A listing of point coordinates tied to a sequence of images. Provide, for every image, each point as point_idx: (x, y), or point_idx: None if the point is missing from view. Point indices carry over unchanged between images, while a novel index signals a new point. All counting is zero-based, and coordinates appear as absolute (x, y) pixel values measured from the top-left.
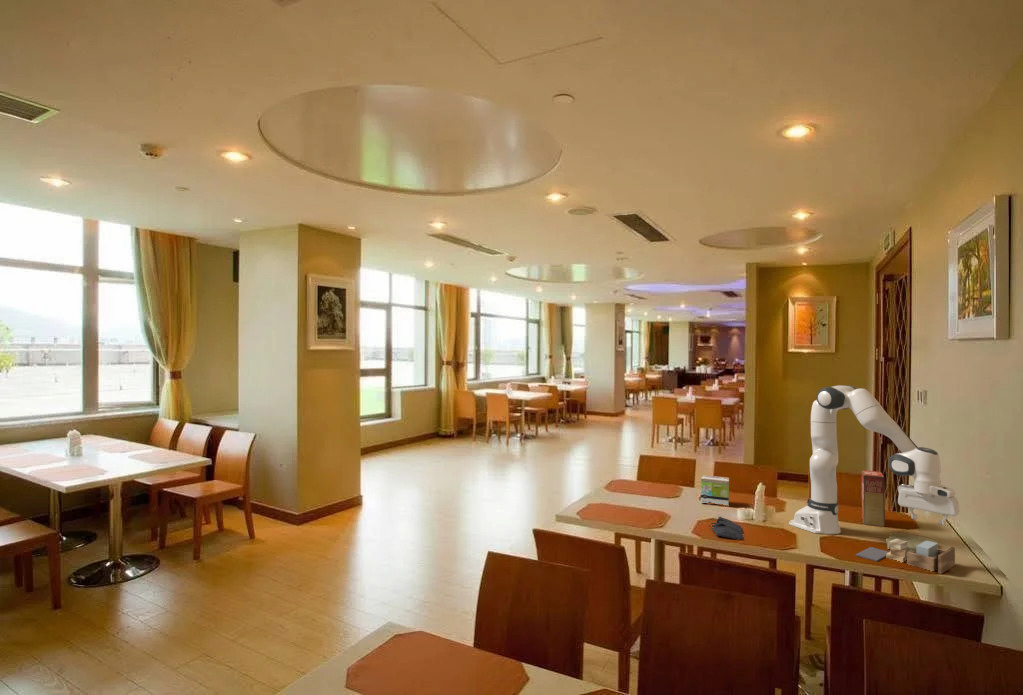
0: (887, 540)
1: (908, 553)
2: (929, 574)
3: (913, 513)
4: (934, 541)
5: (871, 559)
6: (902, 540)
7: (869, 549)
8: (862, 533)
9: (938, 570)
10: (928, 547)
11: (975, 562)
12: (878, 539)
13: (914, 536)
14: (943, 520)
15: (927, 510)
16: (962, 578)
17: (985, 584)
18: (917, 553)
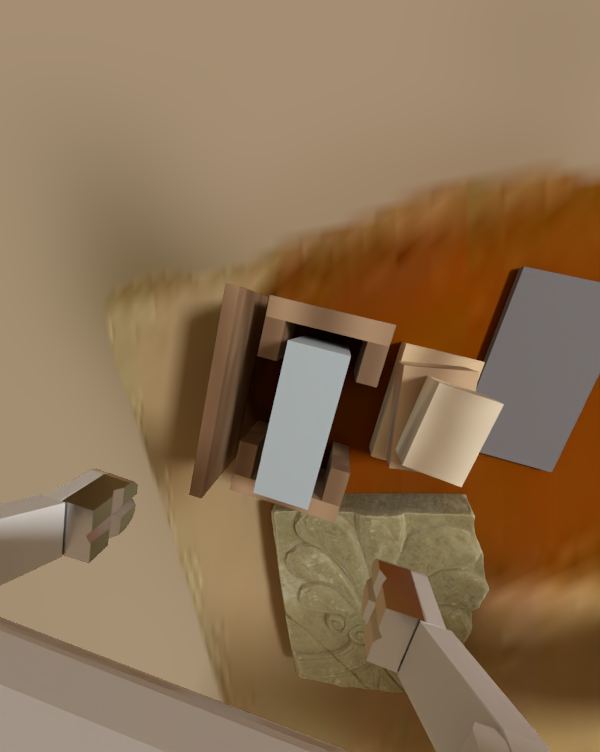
0: (480, 572)
1: (387, 323)
2: (295, 251)
3: (418, 675)
4: (296, 653)
5: (548, 273)
6: (428, 467)
7: (558, 427)
8: (579, 673)
9: (263, 295)
10: (288, 370)
11: (175, 524)
12: (507, 620)
13: (369, 675)
14: (33, 498)
15: (122, 683)
16: (191, 298)
17: (125, 285)
18: (344, 350)
